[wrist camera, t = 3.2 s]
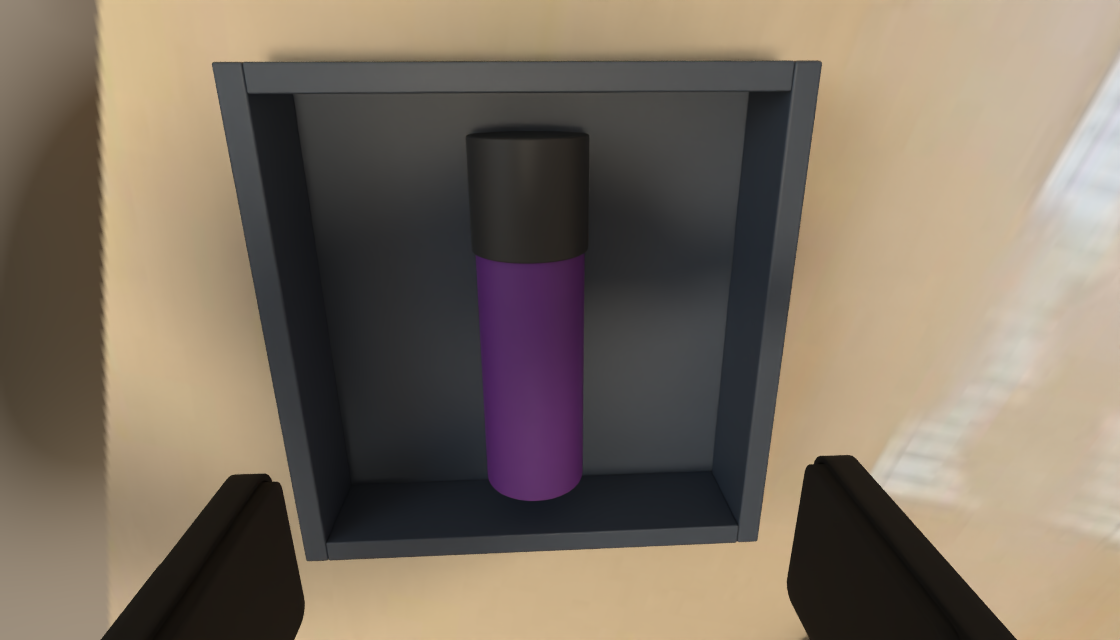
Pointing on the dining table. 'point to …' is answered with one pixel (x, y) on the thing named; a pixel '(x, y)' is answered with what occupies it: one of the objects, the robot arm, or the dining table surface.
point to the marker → (531, 304)
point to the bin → (452, 296)
